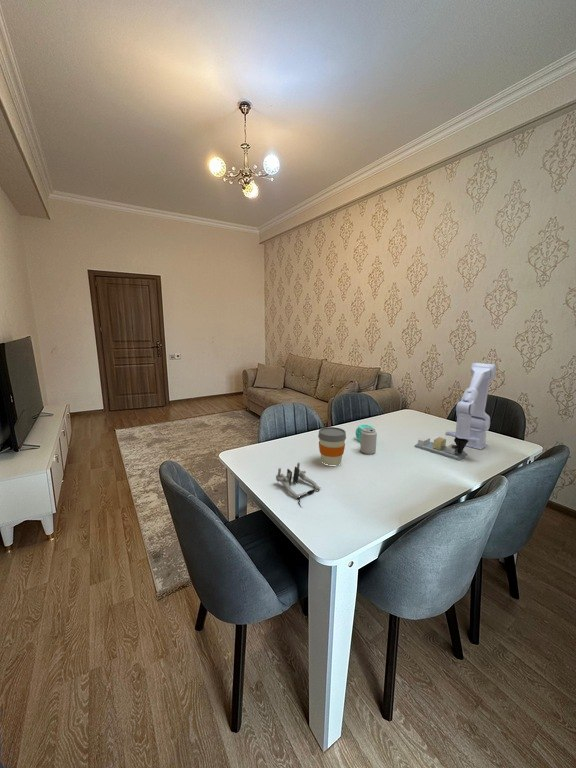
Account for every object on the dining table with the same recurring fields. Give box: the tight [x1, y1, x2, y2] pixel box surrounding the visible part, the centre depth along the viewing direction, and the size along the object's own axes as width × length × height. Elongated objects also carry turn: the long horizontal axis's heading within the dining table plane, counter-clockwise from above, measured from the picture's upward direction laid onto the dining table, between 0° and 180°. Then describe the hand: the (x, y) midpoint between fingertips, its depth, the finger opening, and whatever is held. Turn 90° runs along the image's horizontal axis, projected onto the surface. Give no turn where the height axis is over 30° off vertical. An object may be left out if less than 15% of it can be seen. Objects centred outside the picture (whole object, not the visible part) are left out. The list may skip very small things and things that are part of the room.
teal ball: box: [355, 424, 375, 443], centre depth 170 cm, size 8×8×8 cm
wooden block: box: [433, 436, 447, 451], centre depth 156 cm, size 6×4×5 cm, turn 131°
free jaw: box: [446, 443, 458, 455], centre depth 152 cm, size 7×4×4 cm, turn 131°
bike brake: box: [275, 461, 322, 503], centre depth 119 cm, size 14×7×20 cm
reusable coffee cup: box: [317, 426, 347, 466], centre depth 142 cm, size 12×13×15 cm
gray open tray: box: [414, 436, 469, 461], centre depth 156 cm, size 10×22×4 cm, turn 41°
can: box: [359, 427, 378, 455], centre depth 154 cm, size 8×8×12 cm
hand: (460, 453), depth 149 cm, fingers closed
